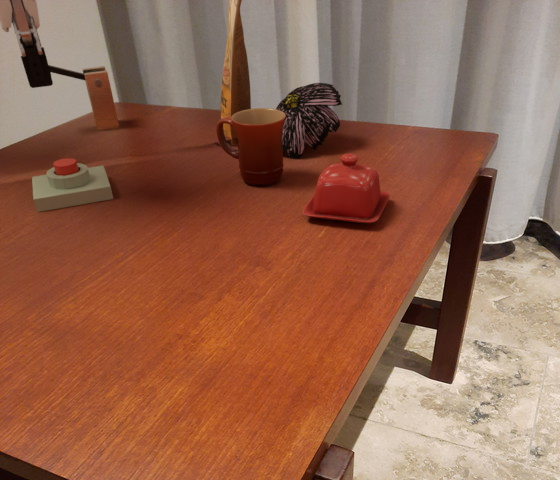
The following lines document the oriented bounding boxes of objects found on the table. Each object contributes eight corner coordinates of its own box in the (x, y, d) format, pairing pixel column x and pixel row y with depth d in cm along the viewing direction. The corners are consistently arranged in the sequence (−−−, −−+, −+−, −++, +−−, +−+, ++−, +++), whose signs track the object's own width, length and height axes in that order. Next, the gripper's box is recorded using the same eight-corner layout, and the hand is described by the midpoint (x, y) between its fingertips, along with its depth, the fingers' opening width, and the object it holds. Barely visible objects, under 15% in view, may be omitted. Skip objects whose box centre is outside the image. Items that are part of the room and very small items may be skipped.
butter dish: (321, 192, 90) (321, 138, 84) (391, 199, 87) (397, 144, 81) (299, 222, 82) (298, 165, 76) (376, 232, 79) (381, 173, 73)
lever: (38, 75, 104) (39, 61, 103) (37, 69, 108) (38, 56, 107) (104, 91, 110) (106, 78, 109) (102, 85, 113) (103, 72, 112)
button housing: (37, 212, 88) (29, 188, 85) (36, 189, 95) (28, 166, 92) (113, 199, 91) (107, 175, 88) (106, 177, 98) (100, 154, 95)
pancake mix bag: (258, 117, 121) (249, -42, 102) (254, 148, 106) (242, -31, 88) (228, 118, 121) (213, -41, 103) (219, 149, 107) (200, -30, 88)
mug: (295, 172, 96) (293, 110, 90) (276, 192, 90) (273, 126, 84) (233, 165, 100) (227, 104, 93) (210, 183, 94) (203, 120, 87)
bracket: (81, 143, 112) (64, 79, 104) (77, 129, 119) (61, 68, 111) (140, 134, 115) (128, 71, 107) (133, 121, 122) (121, 61, 114)
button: (57, 178, 89) (53, 167, 88) (55, 170, 91) (52, 160, 90) (79, 174, 90) (76, 164, 89) (78, 167, 92) (75, 156, 91)
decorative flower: (247, 88, 103) (322, 55, 102) (263, 139, 113) (332, 110, 112) (269, 133, 95) (350, 98, 94) (285, 184, 105) (358, 152, 104)
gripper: (-33, -77, 75) (14, 73, 87) (-43, -73, 63) (14, 100, 75) (25, -80, 77) (64, 67, 89) (27, -77, 65) (71, 93, 77)
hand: (41, 81), depth 82 cm, fingers open, 4 cm apart
